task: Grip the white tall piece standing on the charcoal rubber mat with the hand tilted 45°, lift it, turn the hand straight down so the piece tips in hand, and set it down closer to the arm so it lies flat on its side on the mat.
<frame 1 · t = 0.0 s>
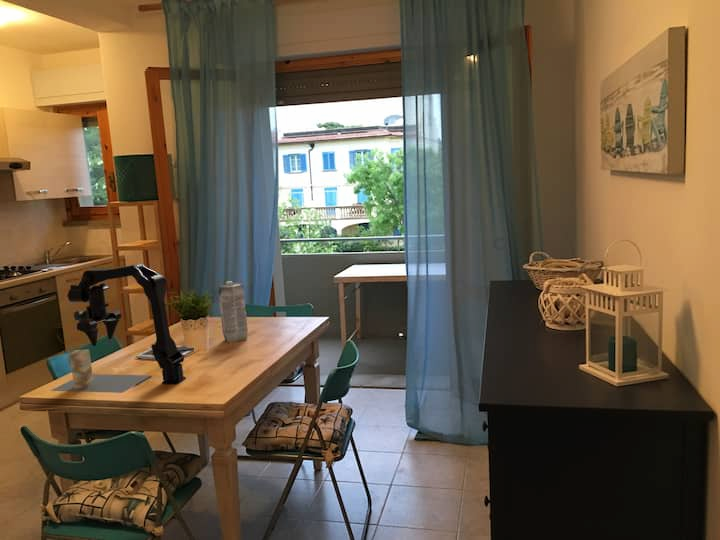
hand: (102, 342, 226), 15 cm above the table, tool pointing down, fingers open, 9 cm apart
rubber mat: (102, 384, 223), on the table
picture frame: (168, 356, 257), on the table
juice carton: (236, 340, 274), on the table
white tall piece: (84, 385, 221), point 1 cm above the table, touching rubber mat
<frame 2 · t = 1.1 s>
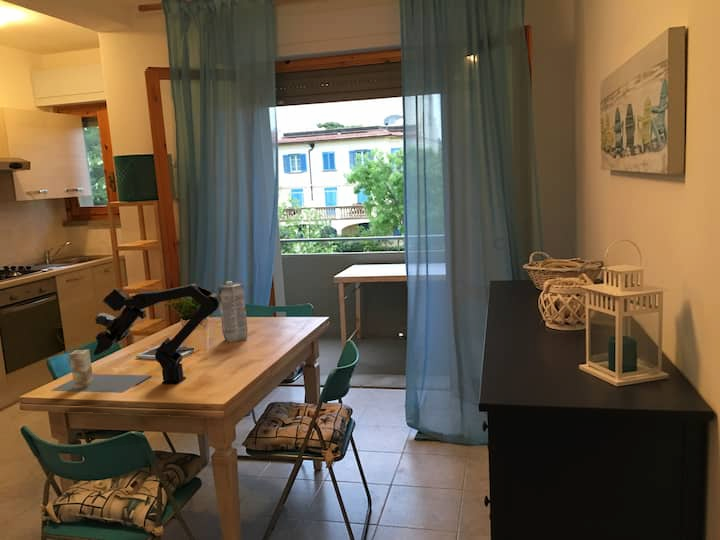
hand: (99, 351, 219), 13 cm above the table, tool tilted 45°, fingers open, 9 cm apart
nothing on the table moved.
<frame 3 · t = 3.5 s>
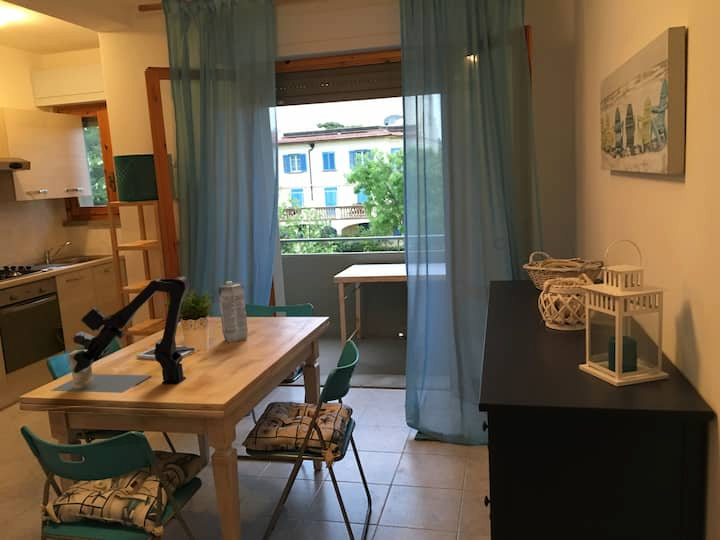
hand: (78, 369, 220), 7 cm above the table, tool tilted 45°, fingers closed on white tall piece, 5 cm apart
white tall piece: (84, 385, 221), point 1 cm above the table, touching gripper, rubber mat
everything else where it was.
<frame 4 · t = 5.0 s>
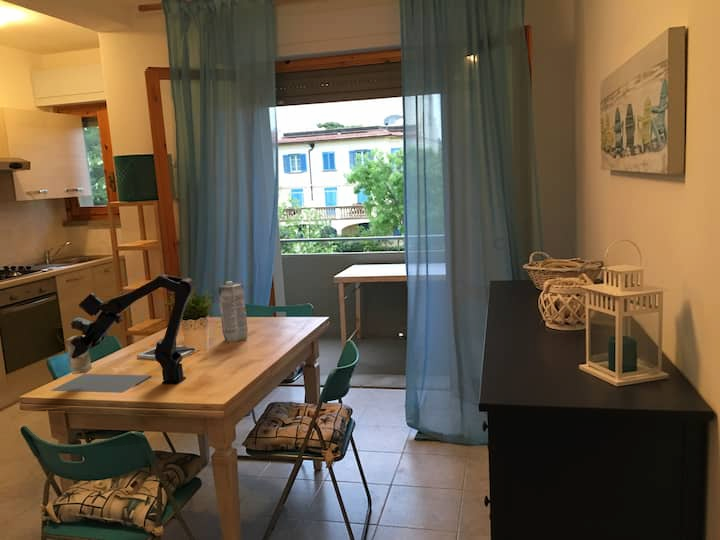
hand: (75, 355, 219), 12 cm above the table, tool tilted 45°, fingers closed on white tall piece, 5 cm apart
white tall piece: (82, 371, 220), point 6 cm above the table, touching gripper
everything else where it was.
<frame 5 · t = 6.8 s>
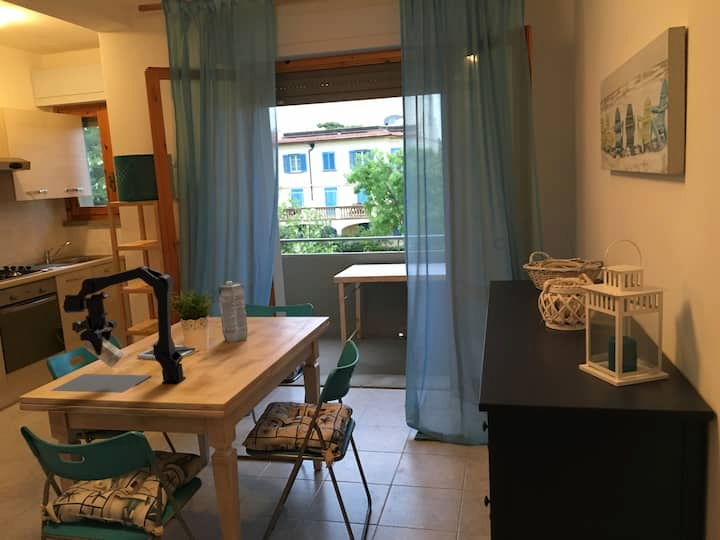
hand: (102, 352, 219), 13 cm above the table, tool pointing down, fingers closed on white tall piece, 5 cm apart
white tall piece: (117, 360, 219), point 9 cm above the table, tilted 46°, touching gripper
everything else where it was.
when the fingers open (7 cm above the table, at t = 8.5 s): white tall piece moves 2 cm and tips over, resting on rubber mat.
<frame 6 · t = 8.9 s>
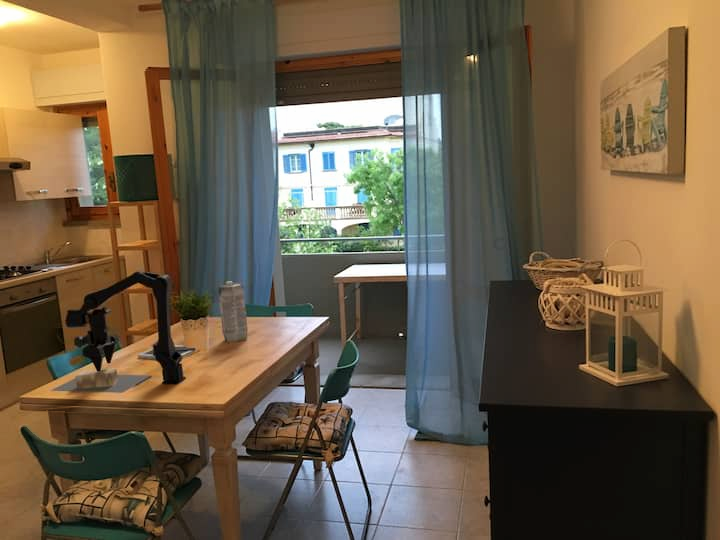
hand: (103, 367, 220), 7 cm above the table, tool pointing down, fingers open, 9 cm apart
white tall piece: (114, 377, 220), point 3 cm above the table, tilted 90°, touching rubber mat
everything else where it was.
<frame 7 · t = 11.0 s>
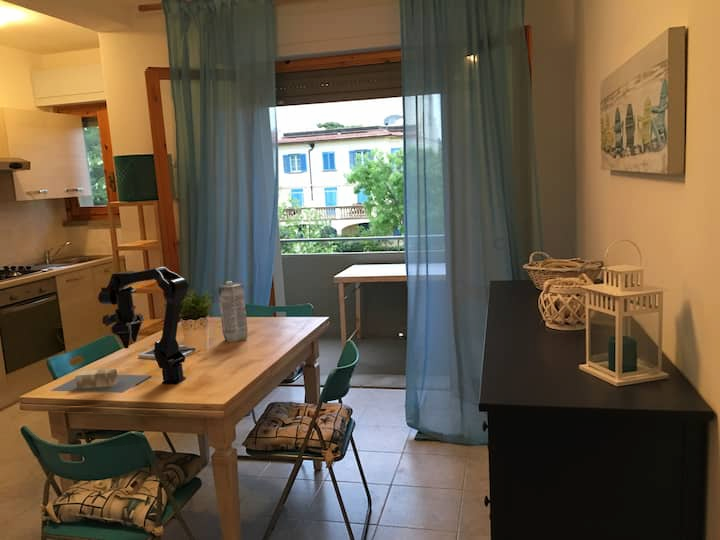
hand: (130, 345, 227), 13 cm above the table, tool pointing down, fingers open, 9 cm apart
nothing on the table moved.
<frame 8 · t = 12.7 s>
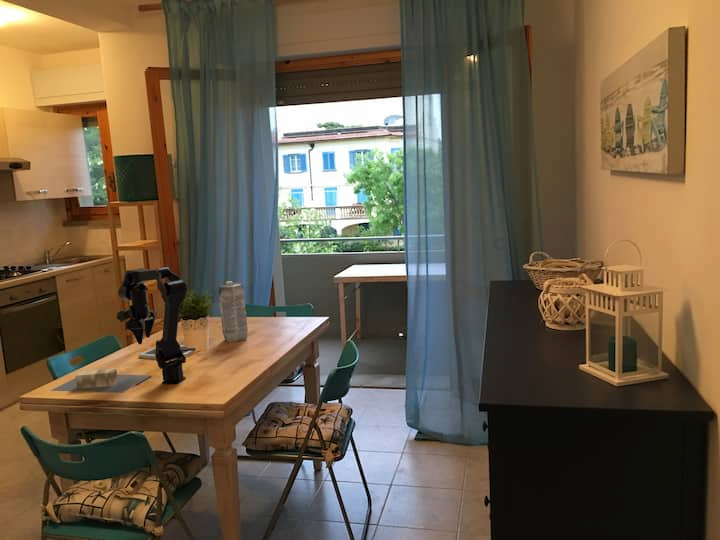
hand: (144, 340, 231), 13 cm above the table, tool pointing down, fingers open, 9 cm apart
at the end: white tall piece tilted 90°; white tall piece inside the target area (6.3 cm from its centre), point 3.1 cm above the table; the gripper is holding nothing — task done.
